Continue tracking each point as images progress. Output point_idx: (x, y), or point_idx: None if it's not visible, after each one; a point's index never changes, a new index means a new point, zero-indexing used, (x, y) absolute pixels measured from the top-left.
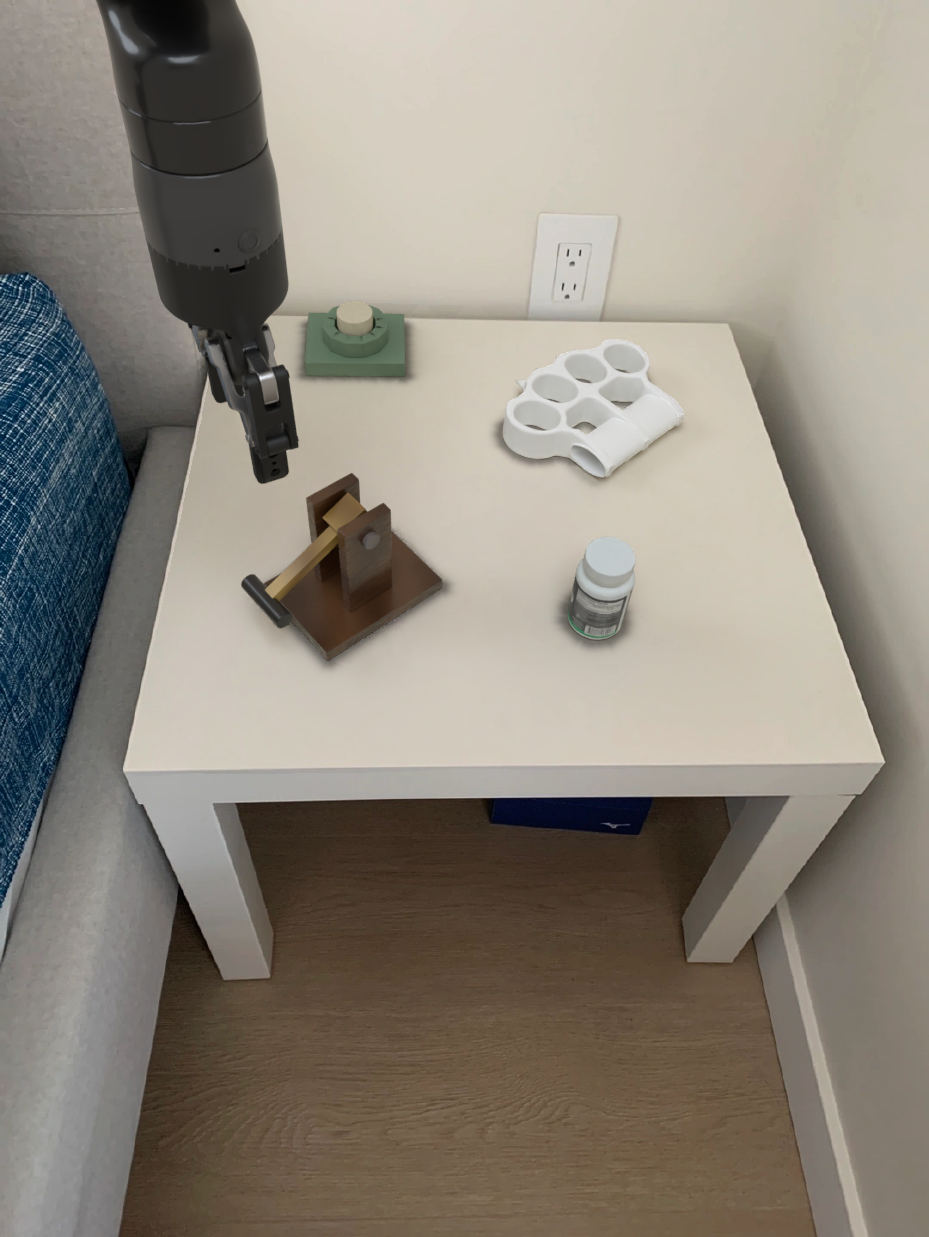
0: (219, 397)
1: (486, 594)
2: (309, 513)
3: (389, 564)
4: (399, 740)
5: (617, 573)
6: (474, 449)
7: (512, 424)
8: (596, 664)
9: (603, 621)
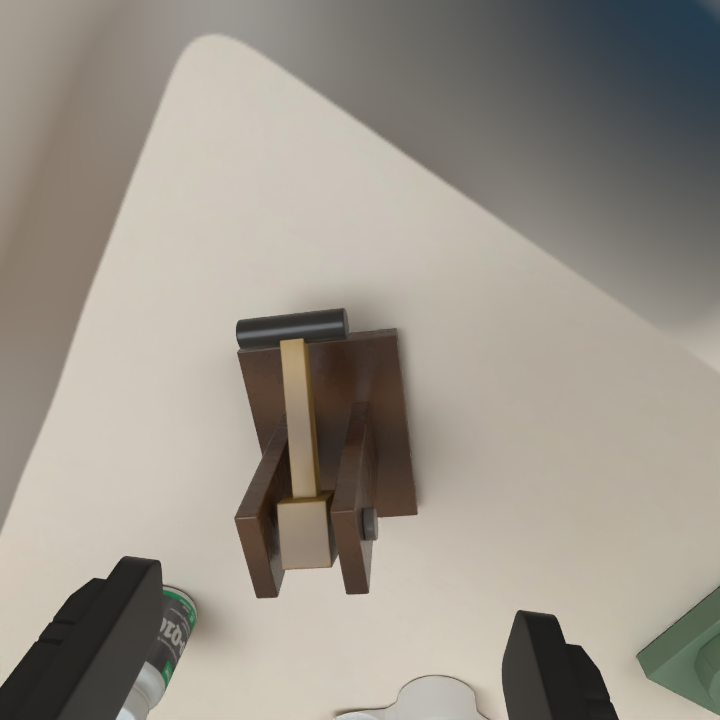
0: (523, 633)
1: None
2: (350, 487)
3: None
4: (96, 360)
5: None
6: (462, 648)
7: (439, 718)
8: None
9: None
